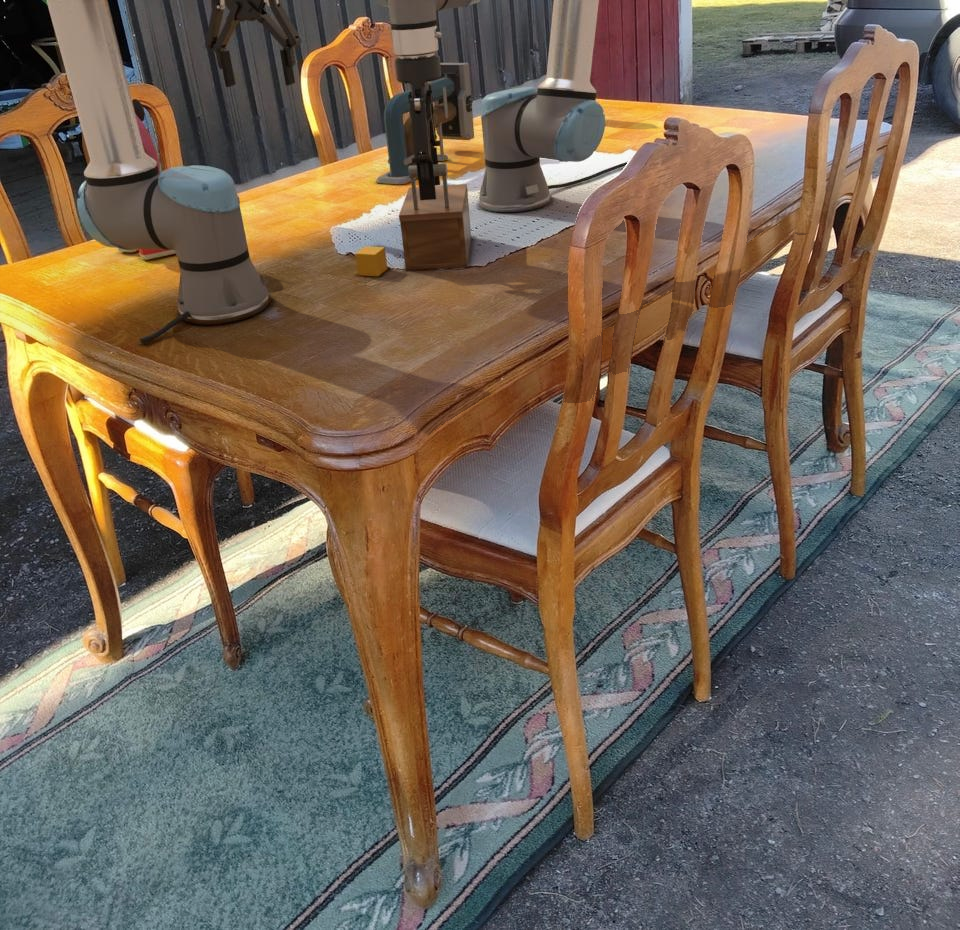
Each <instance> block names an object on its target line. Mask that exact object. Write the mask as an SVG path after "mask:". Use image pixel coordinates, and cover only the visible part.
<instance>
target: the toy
mask: <svg viewBox="0 0 960 930" xmlns="http://www.w3.org/2000/svg"><path fill="white" fill-rule="evenodd" d="M132 103H133V107H134V111H135V115H136V119H137V123H138V127H139V131H140V135H141V139H142V143H143V147H144V151H145V153H146V154H147V155H148V156H150V157H151V158H153V159H154V160H156V161H157V165H158V169H159V173H161V166H160V165H161V164H160V160H159V156H158V152H157V149H156V146H155V143H154V141H153V138H152V136H151V133H150V132H149V130H148V128H147V127H146V125H145V124H144V121H145V119H146V117H145V115H146V113H145V109H144V106H143V104H142V102H140V100H139V99H137V98H133V99H132ZM81 141H82V142H81V143H82V150H83V153H84V157H85V161H86V165H87V166H88V164H89V163H90V157H89V153H88V150H87V146H86V143H85V139H84V135H83V132H82V131H81ZM117 250H118V252H121V253H135V252H139V256H140V257H141V259H143V260H152V259H158V258H162V257H167V256H172V255H176V251H175V250H159V249H133V250H124V249H120V248H117Z"/></svg>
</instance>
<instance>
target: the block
mask: <svg viewBox="0 0 960 930" xmlns="http://www.w3.org/2000/svg"><path fill="white" fill-rule="evenodd" d="M354 256H355V264H356V270H357V276H361V277H362V276H363V277H380V276H381V275H382V274H383V273H384V272H386V271H387V270H388V261H387V253H386V247H385V246H366V245H365V246H363V247H362V248H360V249H359V250H357V251H356V252H355V253H354Z"/></svg>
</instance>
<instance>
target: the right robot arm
mask: <svg viewBox="0 0 960 930" xmlns="http://www.w3.org/2000/svg"><path fill="white" fill-rule="evenodd" d="M372 1H373V2H374V3H375V4H377V5H378V6H381V7H387V8H388V13H389V22H390V34H391V44H392V53H393V55H395V56H396V58H395V59H394V68H395V76H396V81H397V82H398V83H400V84H405V85H407V84H409V85H411V87H410V89H411V90H412V92H410V94H408V102H409V104H410V112H411V119H412V130H413V142H414V154H415V156H414V158H412V163H416V164H417V173H418V178H417V182H418V187H419V192H420V200H434V199H436V191H435V186H441V178H440V176H434V170H433V164H439V161H438V157H437V155H438V148H437V147H440V140H439V139H438V134H437V130H436V128H435V122H434V102H433V90H431V89H432V87H431V84H428V83H429V82H432V81H435V80H438V79H439V78H440V77H441V66H440V63H441V56H440V55H439V54H438V53H437V52H438V51H439V50H440V48H439V40H438V39H439V38H441V37H442V32H441V31H439V30H437V28H438V26H437V25H438V23H437V22H438V21H437V20H438V19H437V12H440V11H444V10H449V9H456V8H457V9H458V8H463V7H465V8H468V7H470V6H471V5H475V4H477V3H479V2H481V0H372ZM599 4H600V0H553V5H552V14H551V23H550V24H551V25H550V36H549V46H548V57H547V67H546V76H545V79H544V80H543V81H542V82H541V83H540V84H539V85H537V88H536V87H535V86H522V87H515V88H509V89H505V90H499V91H495V92H492V93H489V94H487V95H485V96H484V97H483V98H482V100H481V116H480V119H481V130H482V131H481V132H482V141H483V154H484V155H483V156H484V167H485V168H484V173H483V177H482V182H481V186H480V190H479V195H478V196H479V198H478V202H479V207H480V208H482V209H484V210H485V211H490V212H494V213H520V212H521V213H522V212H526V211H532V210H533V211H534V210H536V209H540V208H543V207H544V206H546V205H548V204H549V203H550V202H551V194H550V190H551V189H552V190H553V189H561V188H566V187H571V186H574V185H577V184H580V183H584V182H587V181H589V180H593V179H595V178H597V177H600V176H603V175H605V174H606V173H607V174H608V173H611V172H612V171H615V170H618V169H620V168H624V167H626V166H625V165H626V164H627V162H628V161H625V162H622V163H619V164H617V165H614V166H611V167H608V168H605V169H603V170H600V171H599V172H596V173H593V174H591V175H588V176H585V177H582V178H579V179H575V180H572V181H569V182H564V183H560V184H549V185H548V183H547V180H546V177H545V174H544V172H543V168H542V165H541V159H546V160H554V161H559V162H560V163H564V162H565V163H568V162H571V163H572V162H573V163H580V162H584V161H586V160H587V159H589V158H590V157H591V156H592V155H593V153H594V152H595V151H597V149H598V148H599V146H600V144H601V142H602V140H603V138H604V133H605V129H606V114H605V113H604V112H605V110H604V108H603V106H602V105H601V104H600V103H599V102H598V101H596V100H597V90H596V89H595V87H594V86H593V85H592V83H591V75H592V68H593V67H592V66H593V56H594V48H595V38H596V31H597V23H598V21H597V20H598V13H599ZM436 30H437V31H436ZM437 139H438V140H437ZM433 146H435V147H433ZM420 152H421V153H420Z"/></svg>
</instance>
